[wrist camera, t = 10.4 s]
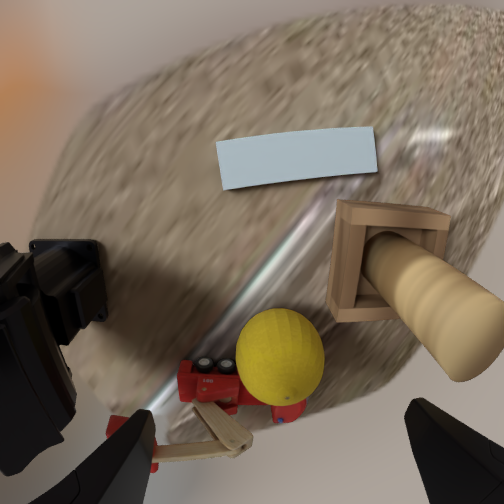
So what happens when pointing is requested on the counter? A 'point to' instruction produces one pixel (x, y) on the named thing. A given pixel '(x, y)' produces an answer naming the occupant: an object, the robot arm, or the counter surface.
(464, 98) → the counter surface
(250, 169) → the plate
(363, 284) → the square wooden tray
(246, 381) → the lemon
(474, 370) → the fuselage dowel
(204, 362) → the toy fire truck
